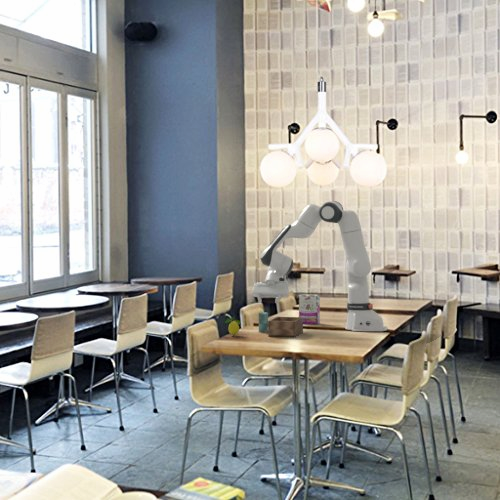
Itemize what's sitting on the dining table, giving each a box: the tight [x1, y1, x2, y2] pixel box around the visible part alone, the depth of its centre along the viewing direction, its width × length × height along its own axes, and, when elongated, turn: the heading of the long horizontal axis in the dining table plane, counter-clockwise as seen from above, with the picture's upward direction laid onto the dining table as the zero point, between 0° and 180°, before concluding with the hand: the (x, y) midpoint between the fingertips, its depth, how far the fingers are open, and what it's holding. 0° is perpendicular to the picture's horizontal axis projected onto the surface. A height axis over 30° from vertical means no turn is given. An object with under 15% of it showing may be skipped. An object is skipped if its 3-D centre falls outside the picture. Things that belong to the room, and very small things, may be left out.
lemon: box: [224, 317, 242, 337], centre depth 409 cm, size 7×6×10 cm
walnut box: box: [267, 316, 304, 338], centre depth 412 cm, size 14×17×8 cm
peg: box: [258, 311, 269, 333], centre depth 422 cm, size 4×4×10 cm
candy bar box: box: [298, 294, 321, 325], centre depth 451 cm, size 11×5×16 cm, turn 68°
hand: (268, 302), depth 431 cm, fingers open, 8 cm apart
